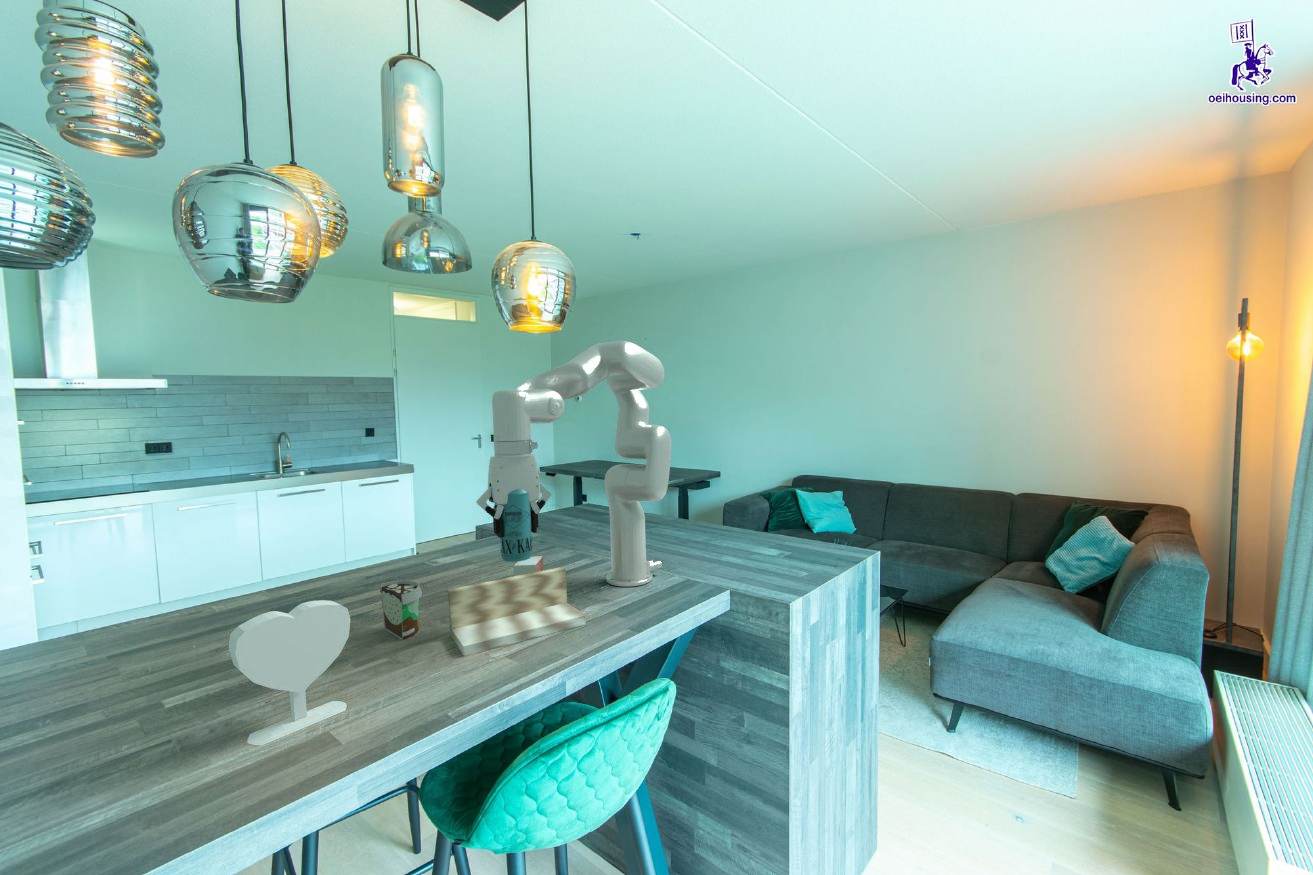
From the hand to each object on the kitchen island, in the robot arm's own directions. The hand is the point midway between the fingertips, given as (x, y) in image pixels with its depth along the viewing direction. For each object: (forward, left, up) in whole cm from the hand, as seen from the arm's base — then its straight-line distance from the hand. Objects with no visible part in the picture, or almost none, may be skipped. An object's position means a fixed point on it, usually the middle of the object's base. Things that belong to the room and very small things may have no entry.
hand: (516, 533), depth 118 cm
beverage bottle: (0, 0, -7) cm, 7 cm away
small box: (-8, -17, -22) cm, 29 cm away
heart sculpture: (+40, +12, -22) cm, 47 cm away
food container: (+20, -17, -22) cm, 34 cm away
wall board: (0, -1, -22) cm, 22 cm away
